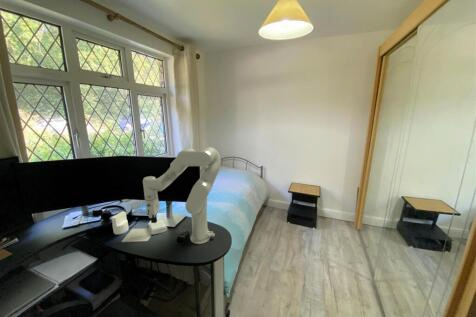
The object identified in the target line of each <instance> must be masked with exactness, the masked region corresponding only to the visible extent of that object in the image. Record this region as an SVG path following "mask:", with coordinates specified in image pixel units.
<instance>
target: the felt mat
mask: <svg viewBox="0 0 476 317" xmlns="http://www.w3.org/2000/svg"><path fill="white" fill-rule="evenodd" d="M152 235H153V234H152V233H151V231H150V229H149V227H148V228H147V227H145V228H144V227H143V228H132V229H131V230H130V231H129V232H128V233H127V235H125V237H124V238H123V239H122V240H121V243H132V242H133V243H134V242H135V243H137V242H140V243H141V242H144V243H145V242H148V241H149V240H150V238H151V237H152Z"/></svg>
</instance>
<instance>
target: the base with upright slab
mask: <svg viewBox="0 0 476 317" xmlns="http://www.w3.org/2000/svg"><path fill="white" fill-rule="evenodd" d="M111 221H112V230H113V234H114V235H122V234H125V233H127V232H128V231H129V228H130V227H129V222H128V219H127V212H126V211H121V212H118V213H117V214H115V215H114V216H112V217H111Z"/></svg>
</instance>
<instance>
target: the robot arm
mask: <svg viewBox="0 0 476 317" xmlns="http://www.w3.org/2000/svg"><path fill="white" fill-rule="evenodd" d="M221 163H222V159H221V155H220V153H219V152H218V150H217V149H215V148H214V147H212V146H209V147H204V148H203V149H202V150H195V149H194V148H192V147H186V148H184V149H182V150H181V151H179V152H178V153H177V155H176V157H175V159H174V160H172V162H171V163H170V166H169V168H168V169H167V171H166V172H164V173H163V174H162V175H160V176H159V177H157V178H156V176H152V175H150V176H145V177H144V178H143V180H142V186H143V193H144V194H143V195H144V200H145V209H146V215H147V216H148V218H149V219H150V222H151V223H156V222H157V221H158V218H157V217H158V216H157V213H158V212H159V211H160V208H161V207H160V202H159V195H158V192H162V191H163V190H165V189H166V188H168V187H169V186H170V185H171V184H172V183H173V182H174V181H175V180H176V179H177V178H178V177H179V176H180V175H182V173H183V172H184V171H185V170H186V169H187V168H188V167H203V168H204V169H203V170H202V173H201V175H200V178H199V179H198V180H197V181H196V182H195V184H194V185H193V186H192V188H191V190H190V193H189V195H188V198H187V199H186V202H185V211H186V212H187V213H188V214H190V217H191V230H192V234H191V235H190V236H189V238H190V241H191V243H193V244H197V245H200V244H205V243H207V242H209V241H210V238H211V237H215V235H216V234H215V233H214V231H210V229H209V228H208V212H207V211H208V208H207V207H208V196H209V194H210V193H211V191H212V188H213V185H214V183H215V181H216V179H217V176H218V174H219V171H220V169H221Z"/></svg>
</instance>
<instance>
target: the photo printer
mask: <svg viewBox="0 0 476 317" xmlns="http://www.w3.org/2000/svg"><path fill="white" fill-rule="evenodd" d="M147 226H148V228H149V229H150V231H151V233H152V235H157V234H162V233H165V232H167V231H168V227H167V225H166V224H165V222H164V219H163V220H161V219H160V220H158V219H157V222H156V223H151V221H150V222H148V225H147Z"/></svg>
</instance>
